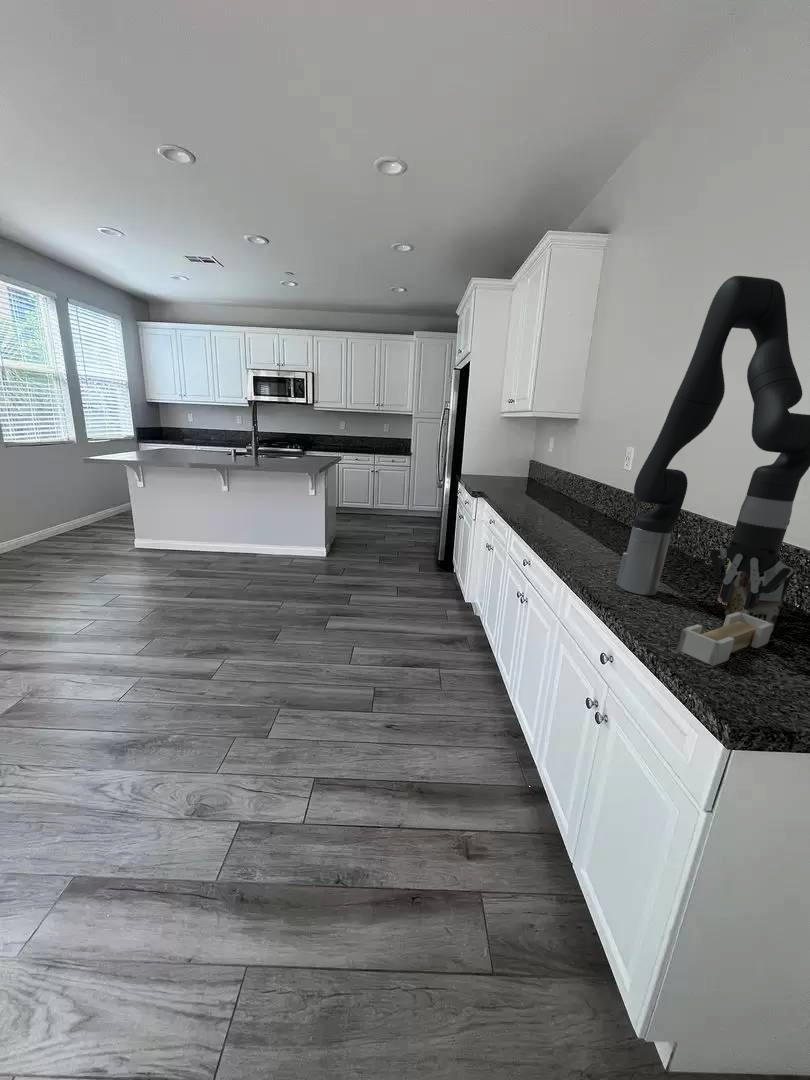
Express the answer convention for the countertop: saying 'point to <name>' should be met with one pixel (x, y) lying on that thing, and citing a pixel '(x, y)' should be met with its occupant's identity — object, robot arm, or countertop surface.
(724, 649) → the end cap
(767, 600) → the coffee box
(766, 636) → the end cap
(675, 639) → the countertop surface
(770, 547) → the robot arm
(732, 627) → the oak bar
